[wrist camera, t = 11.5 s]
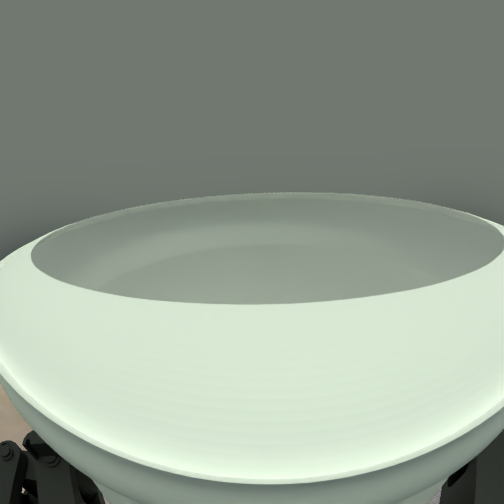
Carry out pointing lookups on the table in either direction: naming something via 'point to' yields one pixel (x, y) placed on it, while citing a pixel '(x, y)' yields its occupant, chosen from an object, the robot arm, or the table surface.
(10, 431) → the table surface
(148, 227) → the jar
